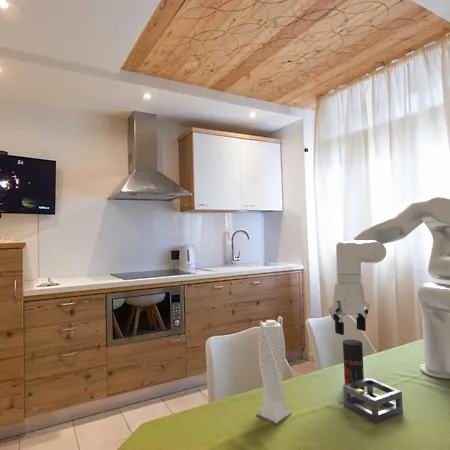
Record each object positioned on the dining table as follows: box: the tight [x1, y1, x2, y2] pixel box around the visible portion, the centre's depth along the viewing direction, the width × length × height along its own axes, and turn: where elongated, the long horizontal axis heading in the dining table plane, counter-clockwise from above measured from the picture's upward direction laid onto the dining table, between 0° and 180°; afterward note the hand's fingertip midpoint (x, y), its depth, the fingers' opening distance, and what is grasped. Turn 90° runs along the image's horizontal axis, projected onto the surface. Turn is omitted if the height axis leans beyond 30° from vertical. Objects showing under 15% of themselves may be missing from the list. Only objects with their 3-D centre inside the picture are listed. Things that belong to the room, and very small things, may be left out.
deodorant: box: [342, 339, 365, 391], centre depth 110 cm, size 6×6×15 cm
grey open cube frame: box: [342, 377, 404, 425], centre depth 97 cm, size 11×11×7 cm
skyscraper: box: [256, 315, 292, 425], centre depth 95 cm, size 8×8×28 cm
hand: (350, 331), depth 110 cm, fingers open, 9 cm apart
